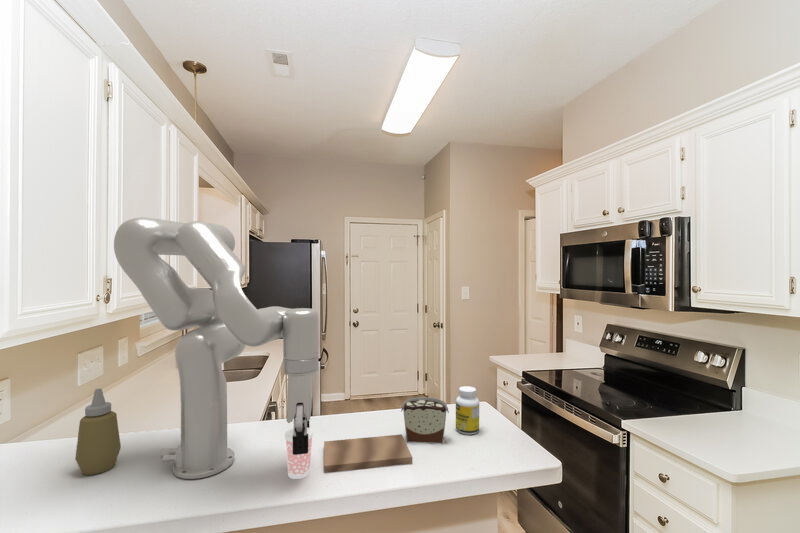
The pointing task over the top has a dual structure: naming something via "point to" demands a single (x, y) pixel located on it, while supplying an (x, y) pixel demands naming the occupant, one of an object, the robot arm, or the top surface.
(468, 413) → the pill bottle
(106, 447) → the squeeze bottle
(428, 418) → the food container
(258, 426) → the top surface
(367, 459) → the walnut board
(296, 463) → the beverage cup
